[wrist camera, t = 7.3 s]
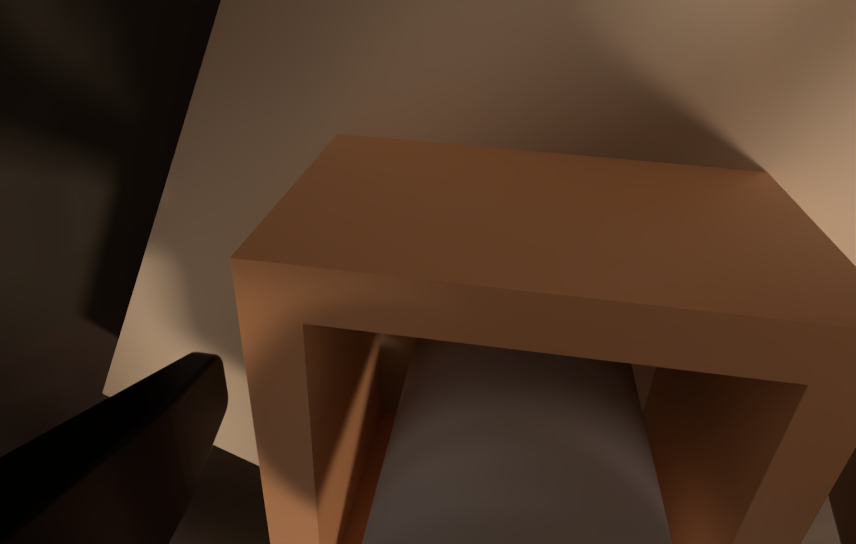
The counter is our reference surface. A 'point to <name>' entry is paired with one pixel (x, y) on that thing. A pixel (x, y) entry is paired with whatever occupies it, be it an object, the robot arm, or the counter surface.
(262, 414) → the open square box
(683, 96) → the duct base
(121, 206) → the counter surface
